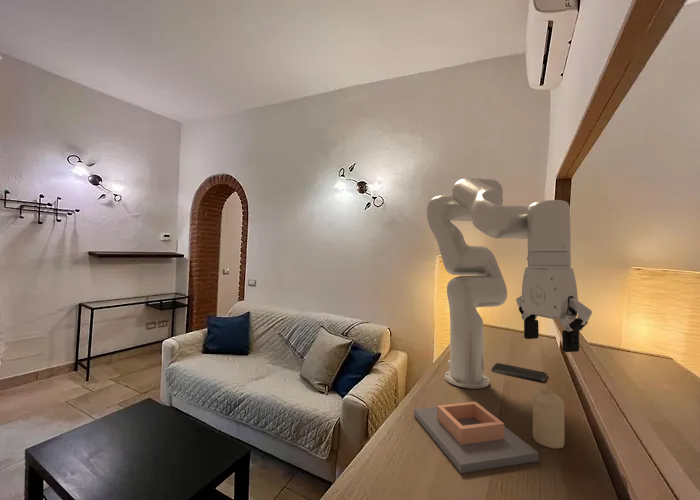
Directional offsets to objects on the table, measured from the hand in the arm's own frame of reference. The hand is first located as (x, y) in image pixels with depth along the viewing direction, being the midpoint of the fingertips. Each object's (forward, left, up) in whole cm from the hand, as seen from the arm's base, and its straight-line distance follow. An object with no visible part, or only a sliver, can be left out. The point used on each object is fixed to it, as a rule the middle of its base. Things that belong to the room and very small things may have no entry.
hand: (549, 344), depth 65 cm
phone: (-33, +21, -21) cm, 44 cm away
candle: (0, 0, -20) cm, 20 cm away
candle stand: (-5, -15, -20) cm, 25 cm away
